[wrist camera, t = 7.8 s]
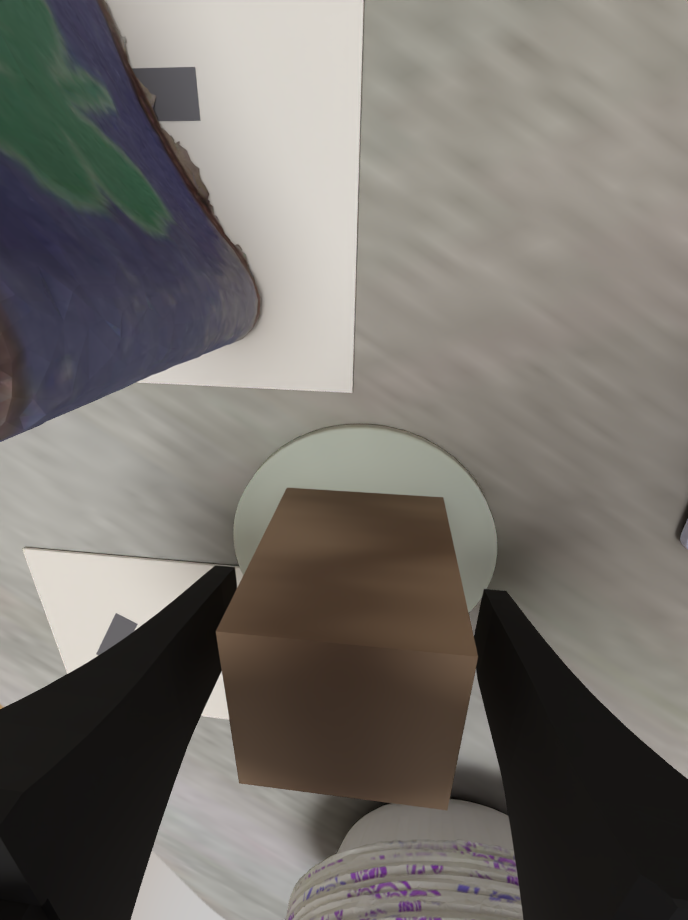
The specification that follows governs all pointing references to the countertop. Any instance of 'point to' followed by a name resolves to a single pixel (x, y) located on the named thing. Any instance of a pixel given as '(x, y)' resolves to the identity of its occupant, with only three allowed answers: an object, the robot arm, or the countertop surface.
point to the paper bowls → (416, 868)
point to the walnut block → (350, 650)
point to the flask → (98, 223)
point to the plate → (374, 489)
